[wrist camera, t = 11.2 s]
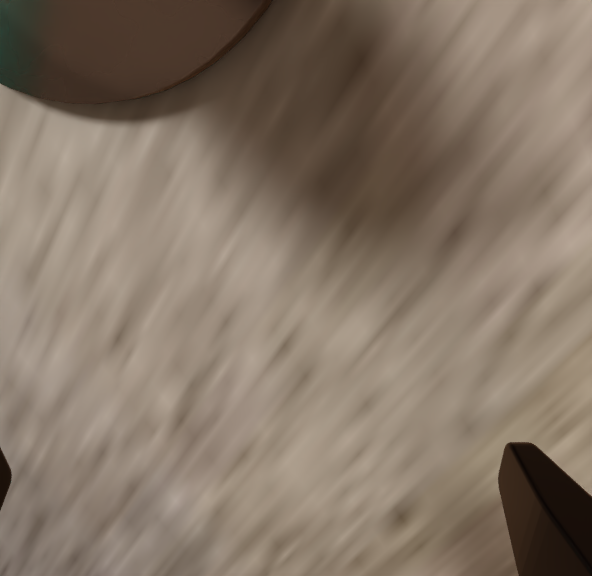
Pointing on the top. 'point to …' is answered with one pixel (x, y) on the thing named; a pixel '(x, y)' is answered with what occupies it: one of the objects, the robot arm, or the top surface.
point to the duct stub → (115, 44)
